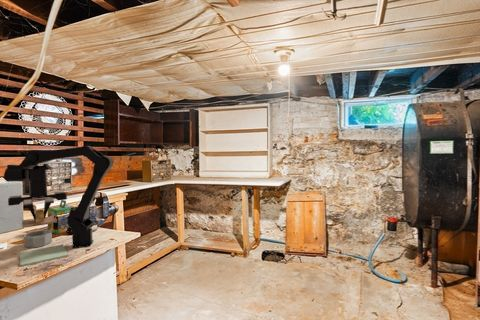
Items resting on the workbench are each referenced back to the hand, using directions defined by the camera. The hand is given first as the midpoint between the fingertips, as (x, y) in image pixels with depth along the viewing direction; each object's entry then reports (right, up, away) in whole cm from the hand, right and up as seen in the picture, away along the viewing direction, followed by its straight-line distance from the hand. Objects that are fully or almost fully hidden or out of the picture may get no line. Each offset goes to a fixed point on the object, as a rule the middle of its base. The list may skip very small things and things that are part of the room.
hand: (39, 219), depth 110 cm
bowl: (-4, -12, +5) cm, 13 cm away
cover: (0, -1, 0) cm, 1 cm away
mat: (+7, -12, -7) cm, 16 cm away
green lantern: (-6, -11, +23) cm, 27 cm away
